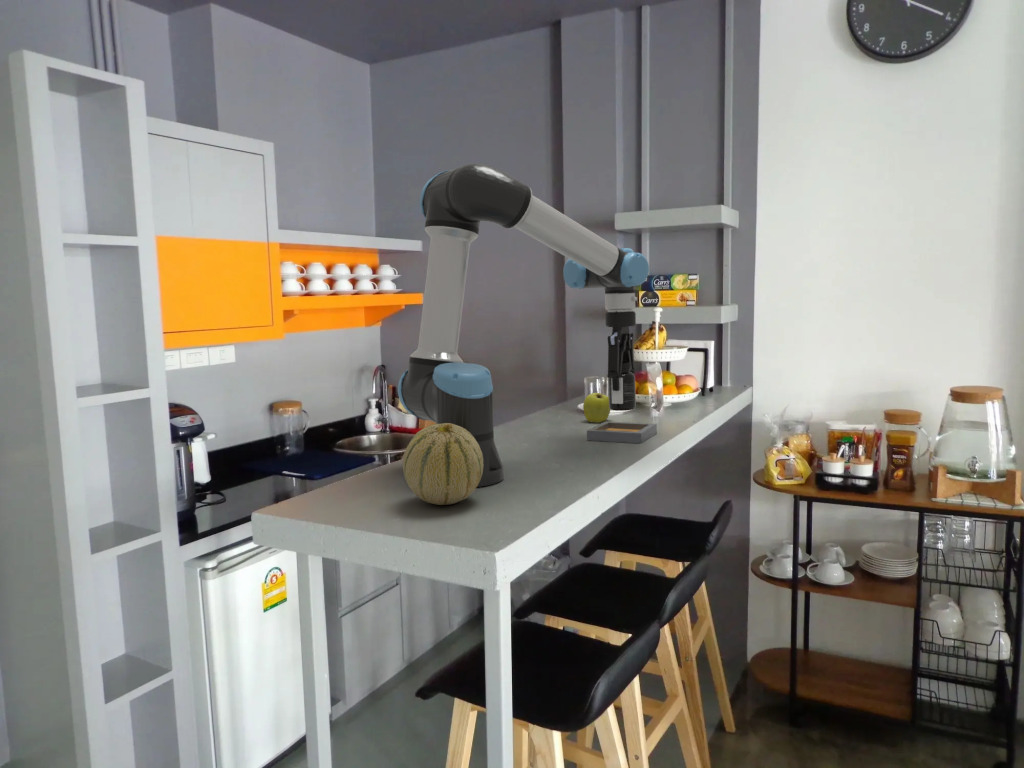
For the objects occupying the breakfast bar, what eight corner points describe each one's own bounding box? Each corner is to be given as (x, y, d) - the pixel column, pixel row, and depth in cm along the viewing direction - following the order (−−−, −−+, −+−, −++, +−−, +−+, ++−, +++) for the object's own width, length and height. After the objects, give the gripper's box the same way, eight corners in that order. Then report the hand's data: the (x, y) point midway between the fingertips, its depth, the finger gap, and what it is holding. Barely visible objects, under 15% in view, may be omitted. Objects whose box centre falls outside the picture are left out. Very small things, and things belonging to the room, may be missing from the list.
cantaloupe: (445, 488, 148) (441, 412, 146) (502, 500, 139) (499, 418, 137) (386, 506, 137) (382, 424, 135) (444, 520, 127) (440, 432, 126)
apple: (578, 416, 222) (588, 383, 221) (604, 423, 222) (614, 391, 221) (579, 421, 214) (589, 387, 213) (606, 428, 214) (616, 395, 213)
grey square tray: (641, 443, 185) (640, 433, 185) (587, 440, 191) (586, 430, 191) (656, 433, 198) (656, 423, 197) (605, 430, 204) (605, 421, 203)
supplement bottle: (635, 406, 197) (634, 360, 195) (636, 410, 190) (635, 363, 188) (608, 407, 197) (607, 361, 196) (609, 411, 191) (608, 363, 189)
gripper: (622, 312, 180) (624, 407, 183) (646, 309, 198) (647, 396, 200) (592, 312, 183) (594, 406, 186) (618, 309, 201) (620, 395, 204)
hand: (622, 401), depth 193 cm, fingers closed on supplement bottle, 7 cm apart
